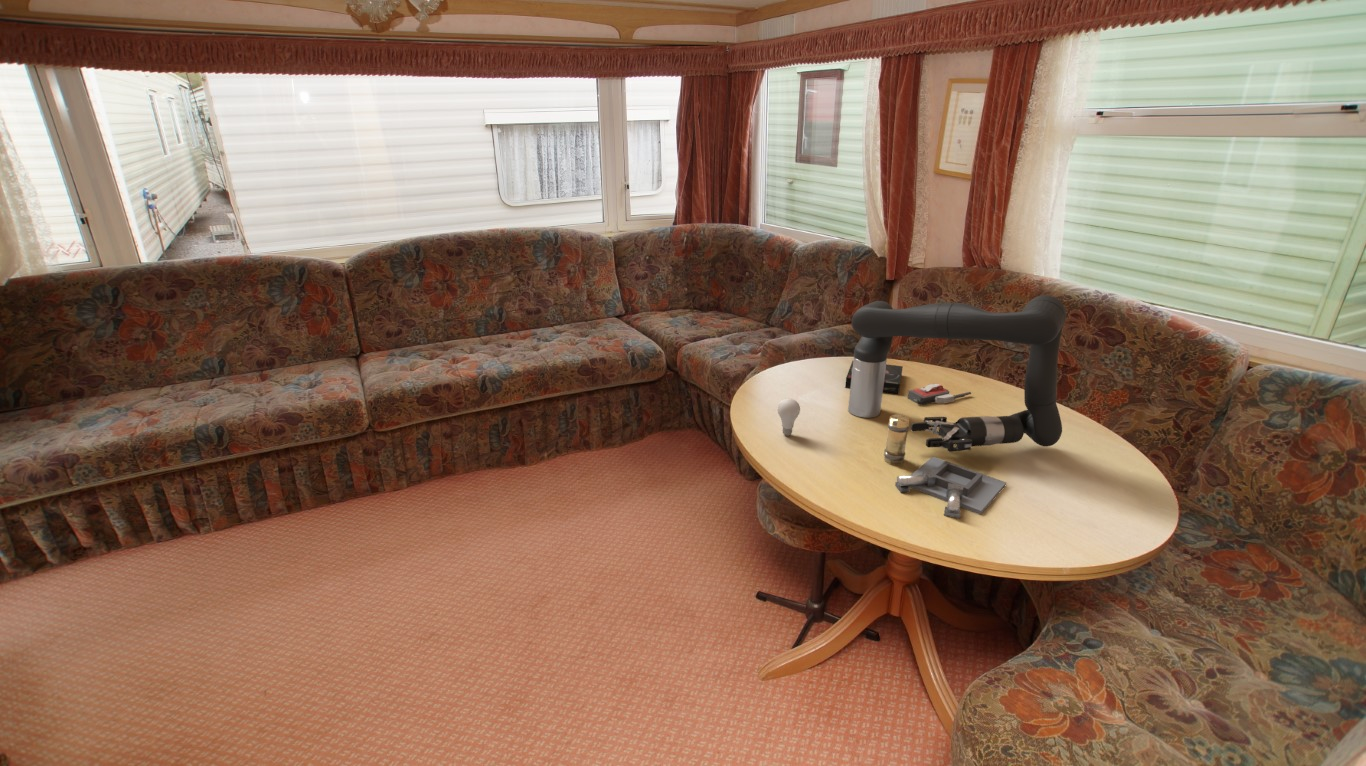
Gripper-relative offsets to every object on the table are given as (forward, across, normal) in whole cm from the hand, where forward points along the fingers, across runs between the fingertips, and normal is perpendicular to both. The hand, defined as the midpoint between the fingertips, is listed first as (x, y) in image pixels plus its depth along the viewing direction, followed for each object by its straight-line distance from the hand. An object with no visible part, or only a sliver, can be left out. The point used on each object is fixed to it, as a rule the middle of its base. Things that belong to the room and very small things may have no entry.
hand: (918, 434), depth 159 cm
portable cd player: (-10, -50, +8) cm, 52 cm away
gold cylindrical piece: (+6, 0, +7) cm, 9 cm away
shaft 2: (+1, +22, +7) cm, 23 cm away
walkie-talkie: (-24, -35, +8) cm, 43 cm away
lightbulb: (+29, -17, +7) cm, 34 cm away
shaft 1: (+6, +13, +7) cm, 16 cm away
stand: (-4, +13, +7) cm, 15 cm away
